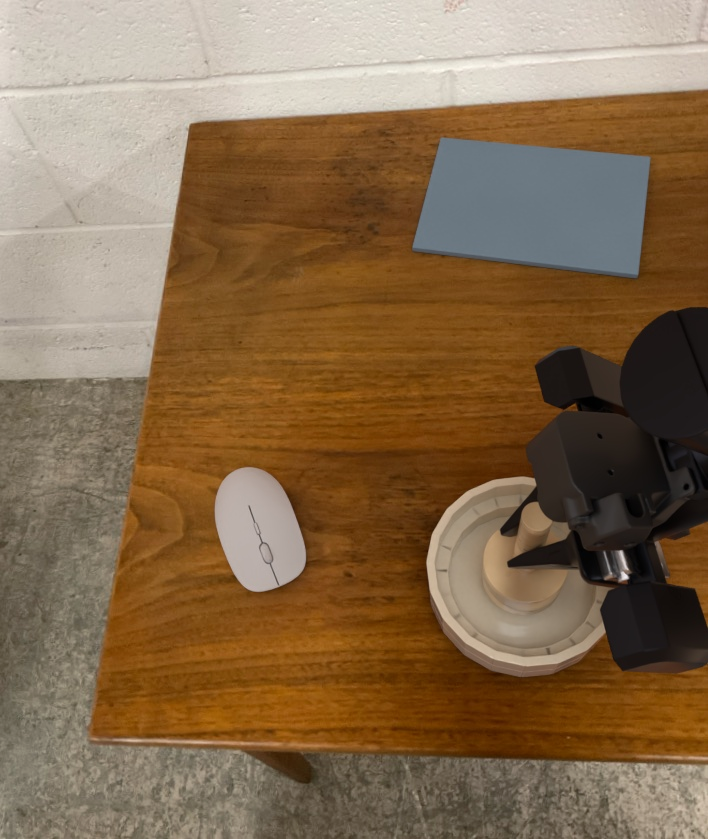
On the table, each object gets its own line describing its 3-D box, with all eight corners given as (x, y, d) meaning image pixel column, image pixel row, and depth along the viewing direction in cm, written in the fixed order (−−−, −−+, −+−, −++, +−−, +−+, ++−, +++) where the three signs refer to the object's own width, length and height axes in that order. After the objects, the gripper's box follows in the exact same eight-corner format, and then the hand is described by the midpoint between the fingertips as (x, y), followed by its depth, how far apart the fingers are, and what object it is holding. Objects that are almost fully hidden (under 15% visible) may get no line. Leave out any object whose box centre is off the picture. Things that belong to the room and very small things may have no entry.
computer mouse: (244, 604, 60) (235, 594, 57) (208, 492, 65) (198, 477, 62) (318, 574, 61) (312, 563, 58) (277, 465, 65) (270, 449, 63)
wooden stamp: (566, 546, 57) (592, 480, 47) (556, 623, 55) (581, 572, 44) (488, 531, 59) (496, 464, 48) (475, 606, 56) (480, 552, 46)
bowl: (620, 517, 60) (632, 495, 56) (602, 697, 55) (614, 686, 51) (446, 486, 63) (446, 462, 59) (412, 654, 57) (409, 640, 53)
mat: (649, 161, 76) (650, 156, 75) (637, 279, 70) (638, 274, 69) (440, 141, 80) (440, 137, 79) (412, 251, 74) (412, 247, 73)
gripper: (594, 253, 40) (392, 394, 51) (717, 619, 32) (443, 700, 42) (707, 317, 47) (508, 430, 57) (834, 634, 38) (573, 702, 48)
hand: (507, 549), depth 51 cm, fingers closed on wooden stamp
